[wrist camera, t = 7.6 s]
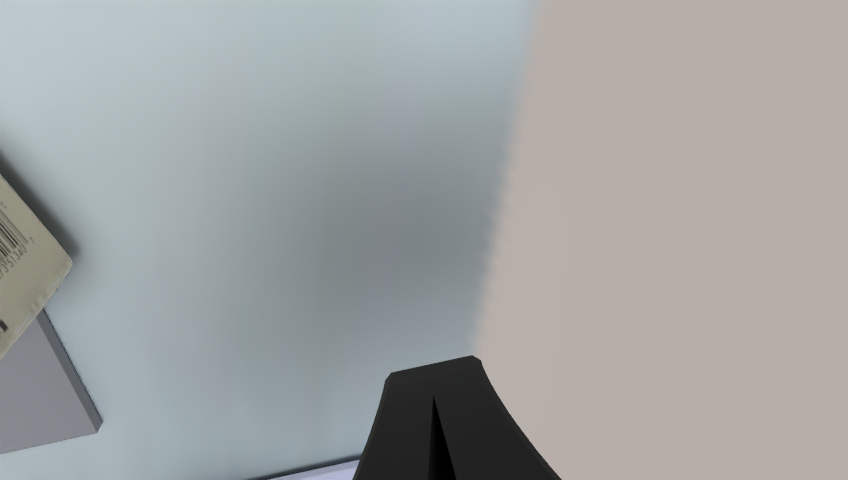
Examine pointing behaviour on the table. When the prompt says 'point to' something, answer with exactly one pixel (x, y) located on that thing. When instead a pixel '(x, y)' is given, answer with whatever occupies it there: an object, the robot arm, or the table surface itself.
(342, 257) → the table surface
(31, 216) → the box
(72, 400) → the mat
